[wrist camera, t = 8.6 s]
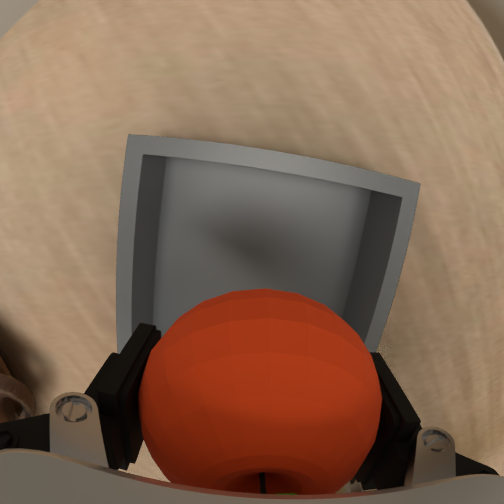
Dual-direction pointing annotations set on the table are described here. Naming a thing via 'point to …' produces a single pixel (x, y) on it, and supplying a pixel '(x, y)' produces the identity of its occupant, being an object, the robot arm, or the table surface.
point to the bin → (255, 232)
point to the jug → (13, 397)
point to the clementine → (260, 396)
